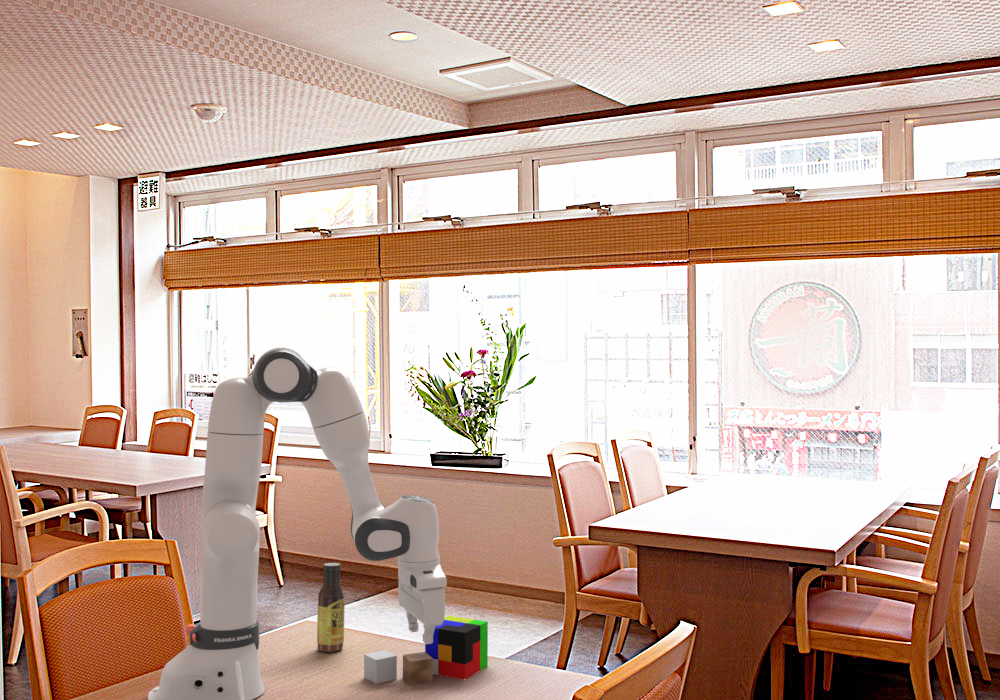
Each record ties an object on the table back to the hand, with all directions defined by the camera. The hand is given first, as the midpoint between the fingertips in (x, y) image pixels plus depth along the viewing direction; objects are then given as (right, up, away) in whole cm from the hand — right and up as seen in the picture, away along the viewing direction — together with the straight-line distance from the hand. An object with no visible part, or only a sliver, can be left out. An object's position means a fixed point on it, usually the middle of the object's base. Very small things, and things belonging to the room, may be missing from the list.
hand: (420, 637), depth 201 cm
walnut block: (-1, -9, 0) cm, 9 cm away
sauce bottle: (-23, -9, +21) cm, 32 cm away
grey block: (-9, -9, +1) cm, 12 cm away
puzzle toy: (+7, -9, +6) cm, 14 cm away
